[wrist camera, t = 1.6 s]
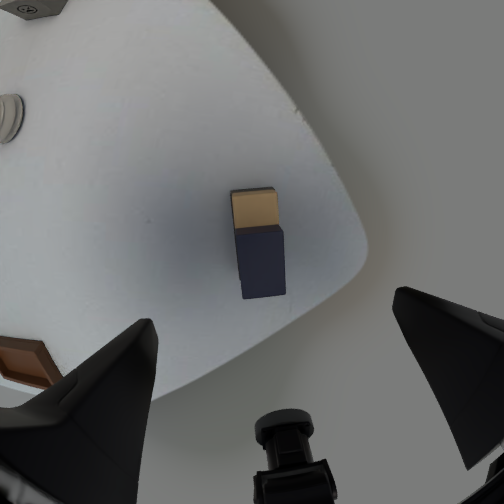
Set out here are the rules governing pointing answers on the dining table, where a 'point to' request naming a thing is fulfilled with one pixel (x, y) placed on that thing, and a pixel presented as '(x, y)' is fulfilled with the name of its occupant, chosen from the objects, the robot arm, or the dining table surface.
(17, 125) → the rook chess piece
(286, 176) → the dining table surface
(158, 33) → the dining table surface
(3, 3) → the dice cube
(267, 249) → the stacked boxes
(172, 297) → the dining table surface
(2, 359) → the tray
